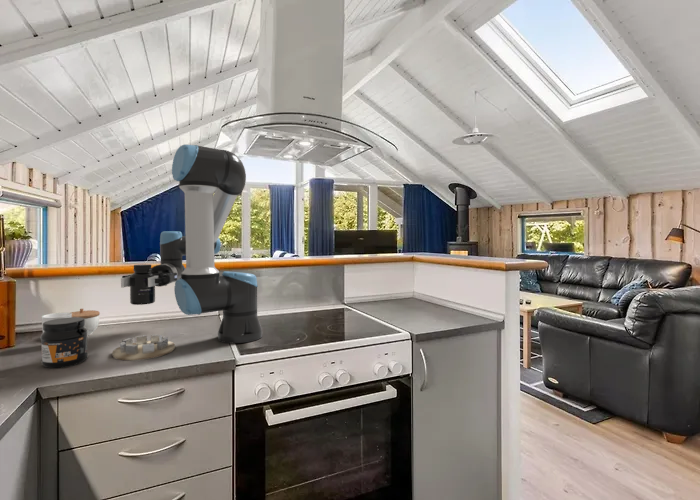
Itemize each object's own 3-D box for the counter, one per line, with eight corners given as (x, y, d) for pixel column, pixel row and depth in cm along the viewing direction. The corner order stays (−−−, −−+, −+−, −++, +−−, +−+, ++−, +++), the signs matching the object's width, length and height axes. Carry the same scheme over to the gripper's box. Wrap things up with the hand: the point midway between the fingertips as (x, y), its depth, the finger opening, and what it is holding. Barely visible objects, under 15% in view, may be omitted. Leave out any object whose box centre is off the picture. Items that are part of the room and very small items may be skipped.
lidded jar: (81, 330, 143) (80, 305, 142) (107, 331, 141) (106, 306, 141) (55, 337, 132) (54, 311, 132) (83, 339, 131) (82, 312, 130)
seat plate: (185, 344, 125) (185, 341, 125) (152, 361, 108) (152, 358, 108) (137, 342, 127) (137, 339, 127) (98, 359, 110) (98, 355, 110)
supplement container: (35, 371, 100) (34, 326, 100) (48, 359, 110) (47, 318, 109) (83, 366, 104) (82, 323, 104) (91, 354, 114) (90, 315, 114)
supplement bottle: (144, 305, 113) (143, 265, 113) (125, 304, 115) (123, 265, 114) (160, 301, 120) (159, 263, 120) (141, 300, 122) (140, 263, 121)
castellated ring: (175, 342, 123) (175, 335, 123) (150, 355, 110) (150, 347, 110) (139, 341, 125) (139, 333, 125) (110, 353, 112) (110, 345, 112)
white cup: (78, 343, 125) (77, 313, 125) (51, 350, 118) (50, 318, 118) (64, 340, 129) (63, 311, 128) (36, 347, 122) (36, 316, 121)
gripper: (192, 284, 137) (171, 294, 114) (133, 285, 134) (100, 296, 111) (191, 264, 136) (170, 269, 113) (133, 264, 133) (99, 270, 111)
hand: (135, 282), depth 112 cm, fingers closed on supplement bottle, 7 cm apart
